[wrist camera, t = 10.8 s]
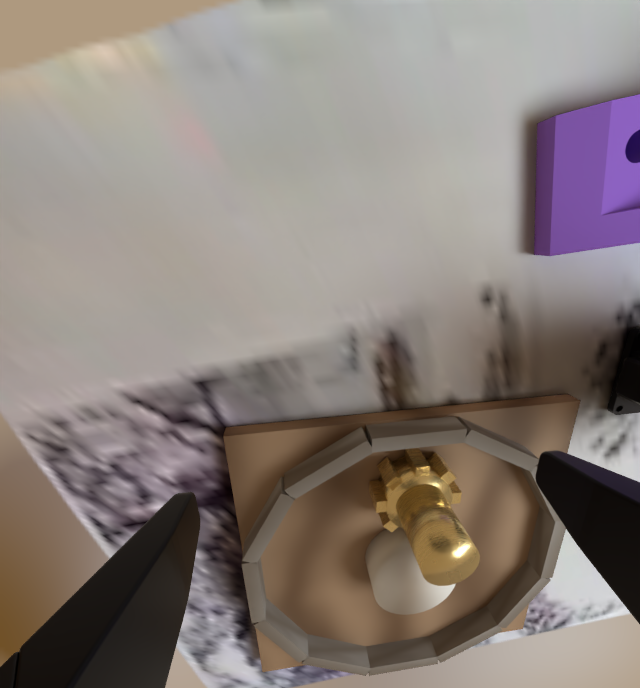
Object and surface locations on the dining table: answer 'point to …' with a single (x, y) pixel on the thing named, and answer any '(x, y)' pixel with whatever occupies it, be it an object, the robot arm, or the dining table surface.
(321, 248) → the dining table surface
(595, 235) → the bracket
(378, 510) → the gear
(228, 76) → the dining table surface
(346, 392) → the dining table surface
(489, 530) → the carrier
